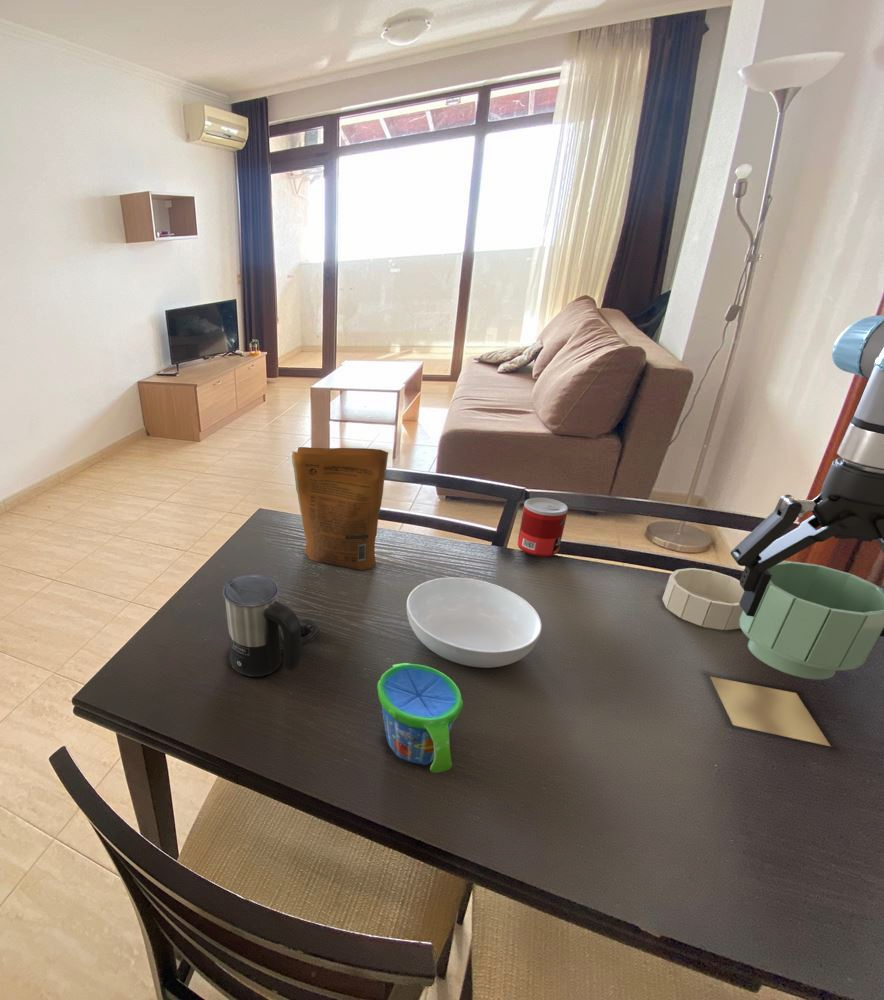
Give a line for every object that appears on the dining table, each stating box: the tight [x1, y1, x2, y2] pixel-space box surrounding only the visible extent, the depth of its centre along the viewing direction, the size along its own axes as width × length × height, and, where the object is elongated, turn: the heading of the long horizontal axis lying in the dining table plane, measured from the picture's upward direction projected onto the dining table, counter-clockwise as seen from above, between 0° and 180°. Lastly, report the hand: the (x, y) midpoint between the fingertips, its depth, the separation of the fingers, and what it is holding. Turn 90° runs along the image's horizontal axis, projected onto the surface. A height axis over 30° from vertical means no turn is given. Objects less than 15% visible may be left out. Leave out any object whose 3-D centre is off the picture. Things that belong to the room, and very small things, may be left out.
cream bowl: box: [662, 567, 744, 631], centre depth 95 cm, size 11×11×6 cm
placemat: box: [709, 676, 831, 747], centre depth 77 cm, size 10×10×1 cm
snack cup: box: [376, 662, 464, 774], centre depth 74 cm, size 16×10×10 cm
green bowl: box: [740, 560, 884, 680], centre depth 70 cm, size 12×12×12 cm
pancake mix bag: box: [291, 446, 389, 571], centre depth 114 cm, size 7×19×28 cm, turn 62°
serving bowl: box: [406, 577, 543, 669], centre depth 93 cm, size 21×21×7 cm
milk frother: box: [222, 574, 321, 678], centre depth 93 cm, size 14×16×15 cm
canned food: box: [517, 497, 569, 558], centre depth 116 cm, size 8×8×11 cm
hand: (808, 619), depth 70 cm, fingers closed on green bowl, 12 cm apart
